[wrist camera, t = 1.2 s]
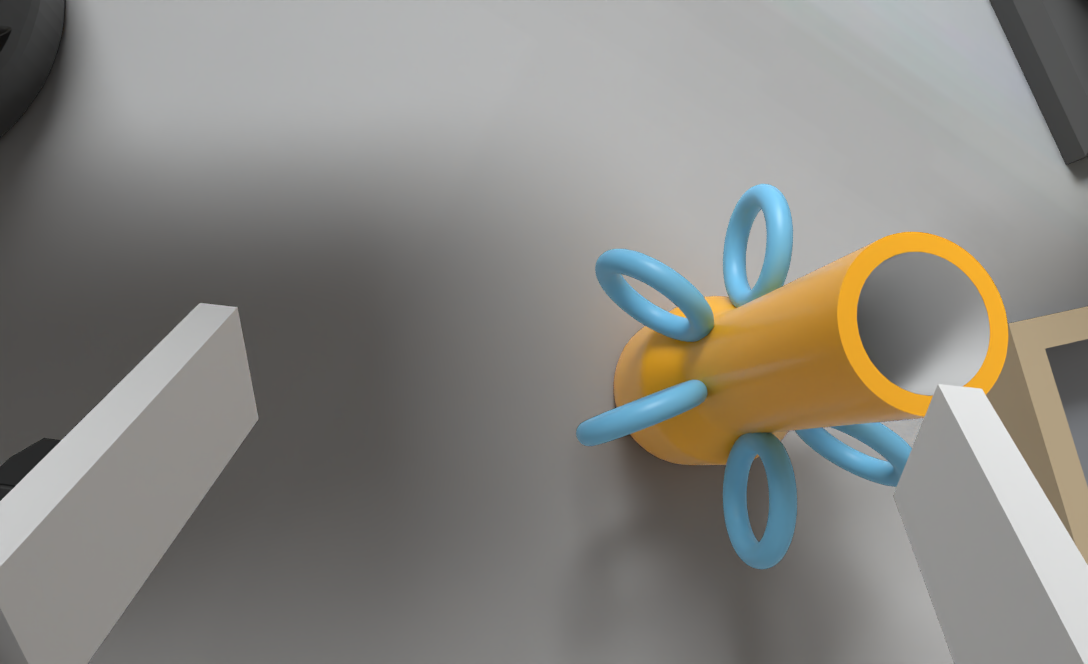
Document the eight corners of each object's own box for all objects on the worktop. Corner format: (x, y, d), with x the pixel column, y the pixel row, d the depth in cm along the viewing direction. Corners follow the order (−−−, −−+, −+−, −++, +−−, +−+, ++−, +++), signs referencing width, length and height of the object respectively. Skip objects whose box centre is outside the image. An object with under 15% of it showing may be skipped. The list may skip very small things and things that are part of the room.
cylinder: (865, 373, 32) (1235, 298, 18) (740, 588, 30) (1049, 705, 15) (631, 200, 32) (815, -21, 17) (485, 405, 30) (556, 346, 15)
